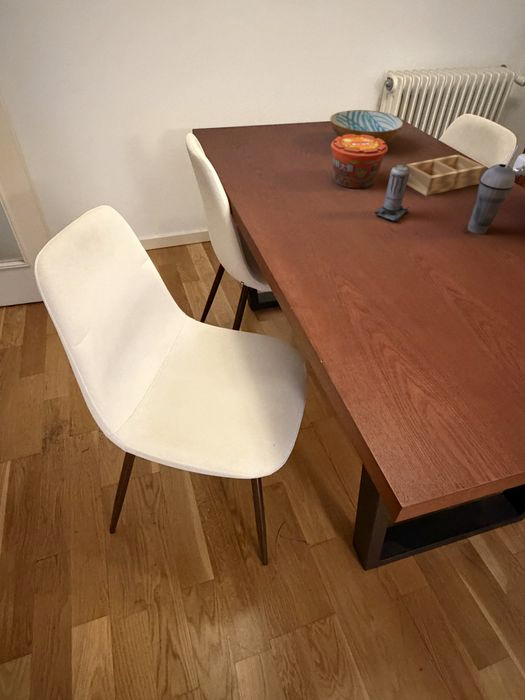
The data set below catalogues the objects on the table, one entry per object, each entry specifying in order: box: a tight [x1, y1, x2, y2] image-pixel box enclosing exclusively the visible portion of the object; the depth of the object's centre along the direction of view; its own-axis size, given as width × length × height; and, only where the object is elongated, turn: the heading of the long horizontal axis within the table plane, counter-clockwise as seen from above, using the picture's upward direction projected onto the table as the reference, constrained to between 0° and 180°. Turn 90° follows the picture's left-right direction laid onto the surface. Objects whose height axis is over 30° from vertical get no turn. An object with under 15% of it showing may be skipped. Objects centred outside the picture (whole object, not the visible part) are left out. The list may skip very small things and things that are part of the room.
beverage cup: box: [467, 144, 521, 235], centre depth 93 cm, size 7×7×20 cm
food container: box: [330, 134, 389, 190], centre depth 117 cm, size 16×16×11 cm
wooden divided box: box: [404, 154, 486, 197], centre depth 119 cm, size 21×11×5 cm, turn 115°
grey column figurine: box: [374, 164, 410, 223], centre depth 101 cm, size 9×8×12 cm
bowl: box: [329, 109, 405, 145], centre depth 141 cm, size 25×25×8 cm
